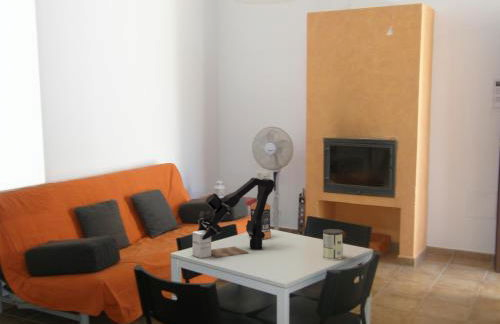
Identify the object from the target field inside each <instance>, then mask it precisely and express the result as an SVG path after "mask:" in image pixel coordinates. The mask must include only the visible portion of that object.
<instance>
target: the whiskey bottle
mask: <svg viewBox="0 0 500 324" xmlns="http://www.w3.org/2000/svg"><path fill="white" fill-rule="evenodd" d="M256 194H257V195H256V200H257V201H256V202H254V203H252V204H251V205H250V220H251V219H252V218H253V215H254V212H255V208H256V205H257V202H258V198H259V195H260V190H259V185H257V193H256ZM271 207H272V205H271V204H270V203H267V202H266V205H265V209H264V212H263V215H262V219H261V224H262V228H261V231H262V232H263V233H264V234H265V237H264V238H262V241H264V240H265V239H266V240H267V239H272V231H271ZM248 236H249V235H248ZM249 238H250V239H251V236H249Z"/></svg>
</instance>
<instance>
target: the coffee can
mask: <svg viewBox="0 0 500 324" xmlns="http://www.w3.org/2000/svg"><path fill="white" fill-rule="evenodd" d="M322 233H323V234H322V241H323V242H322V258H323V259H325V260H328V261H337V260H342V259H343V258H344V257H343V254H344V253H343V247H344V246H343V243H344V242H343V241H344V235H343V234H344V230H342V229H338V228H326V229H323V230H322Z"/></svg>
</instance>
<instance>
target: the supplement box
mask: <svg viewBox="0 0 500 324" xmlns="http://www.w3.org/2000/svg"><path fill="white" fill-rule="evenodd" d="M206 232H207V231H204V230H202V231H198V230H196V231H192V256H194V257H197V258H199V259H202V258H210V257H211V256H212V255H211V250H212V236H211V237H209V238H207V239H205V240H203V239H202V238H203V236H204V235H205V233H206Z"/></svg>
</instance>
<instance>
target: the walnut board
mask: <svg viewBox="0 0 500 324" xmlns="http://www.w3.org/2000/svg"><path fill="white" fill-rule="evenodd" d="M245 254H246V255H248V254H249V251H247V250H244V249H243V248H240V247H237V246H235V245H234V246H228V247H221V248H213V249H212V248H211V256H213V257H214V258H217V259H218V258H225V257H231V256H238V255H245Z"/></svg>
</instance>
